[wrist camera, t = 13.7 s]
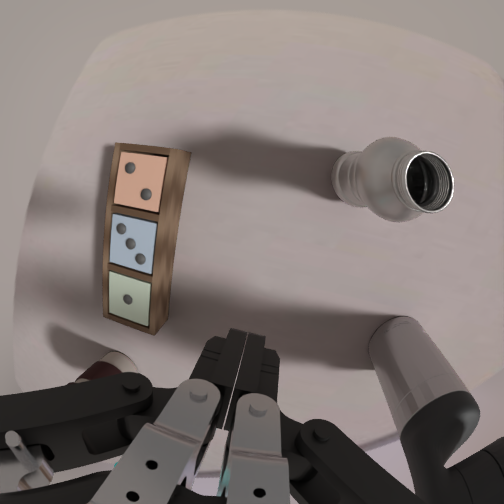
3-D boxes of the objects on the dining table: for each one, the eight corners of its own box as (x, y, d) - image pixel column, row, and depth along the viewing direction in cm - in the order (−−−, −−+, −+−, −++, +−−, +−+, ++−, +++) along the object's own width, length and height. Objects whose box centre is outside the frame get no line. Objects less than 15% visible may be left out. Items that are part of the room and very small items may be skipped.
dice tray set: (167, 319, 41) (154, 335, 36) (119, 303, 41) (103, 316, 36) (191, 152, 34) (176, 149, 29) (134, 145, 34) (115, 142, 30)
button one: (156, 316, 38) (147, 327, 35) (119, 303, 39) (108, 312, 36) (159, 276, 37) (149, 284, 34) (120, 264, 37) (108, 271, 34)
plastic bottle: (357, 216, 34) (433, 261, 14) (316, 181, 33) (356, 183, 14) (387, 178, 32) (486, 184, 13) (348, 142, 31) (418, 103, 12)
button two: (167, 209, 34) (156, 212, 31) (125, 200, 35) (113, 203, 32) (176, 158, 33) (166, 157, 29) (133, 153, 33) (120, 151, 30)
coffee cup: (124, 391, 47) (88, 441, 32) (92, 353, 45) (47, 398, 31) (156, 379, 44) (119, 438, 30) (120, 336, 43) (71, 388, 28)
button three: (160, 266, 36) (150, 274, 33) (121, 255, 37) (108, 262, 34) (166, 219, 35) (155, 224, 32) (124, 210, 35) (111, 214, 32)
